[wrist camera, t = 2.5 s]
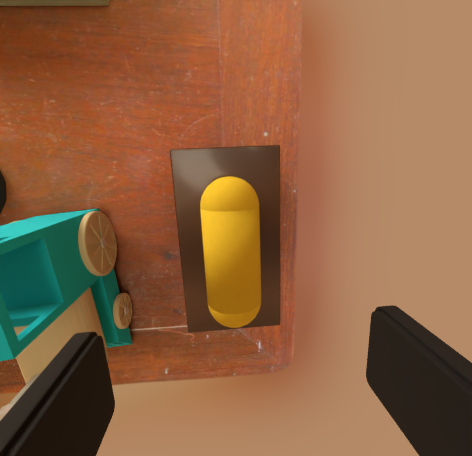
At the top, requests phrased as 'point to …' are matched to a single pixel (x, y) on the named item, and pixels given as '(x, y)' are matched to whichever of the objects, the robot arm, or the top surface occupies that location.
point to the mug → (2, 192)
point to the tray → (54, 3)
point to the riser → (190, 228)
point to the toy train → (58, 288)
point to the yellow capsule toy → (231, 250)
